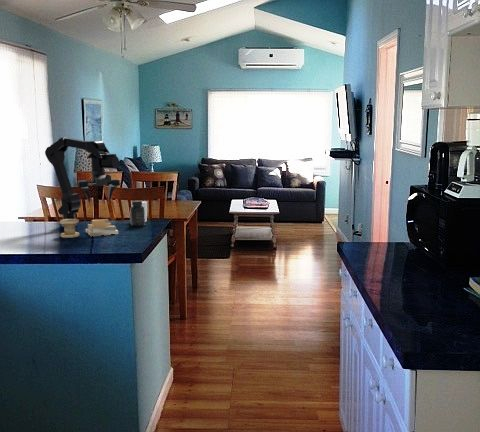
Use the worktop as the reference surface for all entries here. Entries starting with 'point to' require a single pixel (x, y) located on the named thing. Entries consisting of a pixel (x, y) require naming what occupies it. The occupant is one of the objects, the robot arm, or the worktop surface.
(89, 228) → the notched board
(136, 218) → the supplement bottle
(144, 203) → the white cup
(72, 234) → the bobbin
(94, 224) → the tan rectangular block
